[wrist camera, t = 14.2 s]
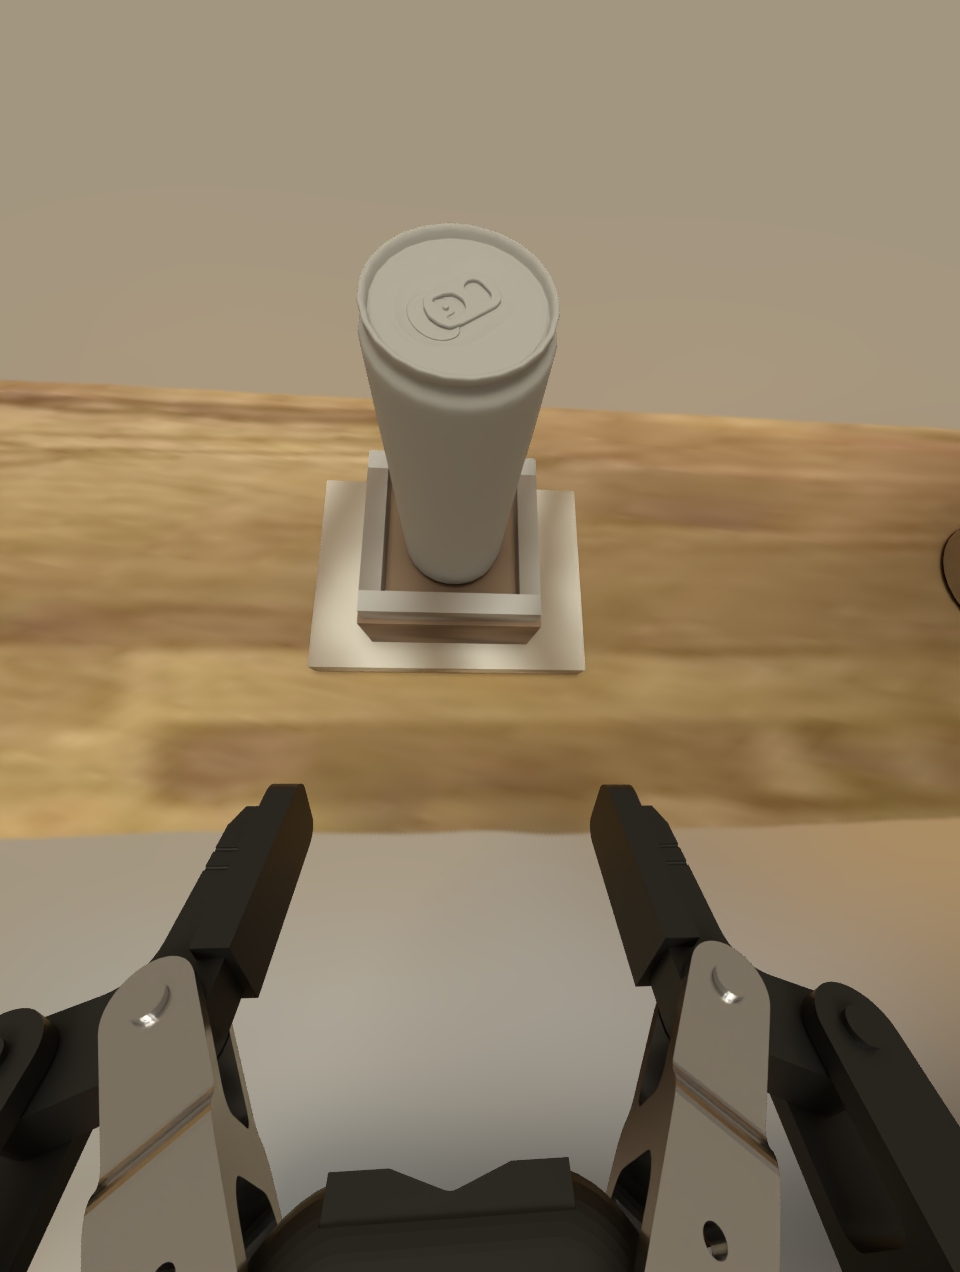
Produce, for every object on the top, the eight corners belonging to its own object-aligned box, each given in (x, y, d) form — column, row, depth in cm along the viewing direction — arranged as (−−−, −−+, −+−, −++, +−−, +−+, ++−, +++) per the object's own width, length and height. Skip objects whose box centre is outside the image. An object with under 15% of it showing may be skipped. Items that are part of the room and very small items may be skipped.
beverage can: (388, 534, 20) (306, 268, 9) (463, 487, 21) (479, 191, 10) (444, 607, 20) (436, 422, 8) (519, 554, 21) (609, 322, 9)
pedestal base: (567, 504, 28) (603, 434, 21) (577, 674, 25) (622, 652, 18) (333, 494, 27) (296, 416, 20) (316, 671, 24) (266, 647, 17)
